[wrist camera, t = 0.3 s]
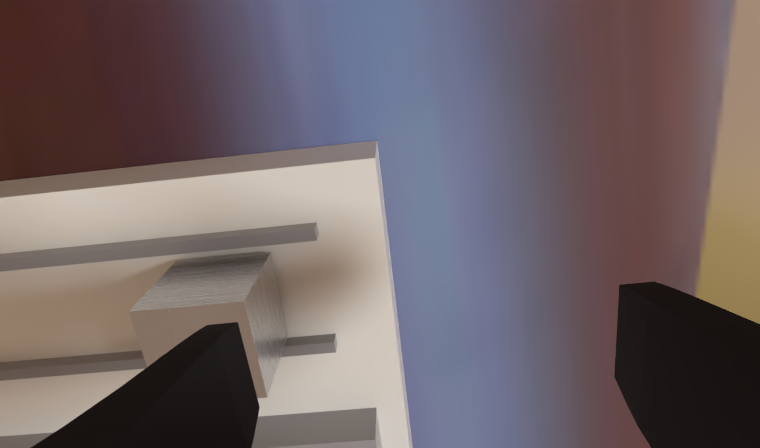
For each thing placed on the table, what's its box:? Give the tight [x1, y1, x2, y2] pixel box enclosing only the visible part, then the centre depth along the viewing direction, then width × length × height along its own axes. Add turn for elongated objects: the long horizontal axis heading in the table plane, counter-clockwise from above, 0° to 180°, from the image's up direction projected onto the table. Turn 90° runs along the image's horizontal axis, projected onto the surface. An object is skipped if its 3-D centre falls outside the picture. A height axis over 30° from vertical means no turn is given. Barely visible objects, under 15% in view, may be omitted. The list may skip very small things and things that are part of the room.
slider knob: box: [129, 252, 288, 398], centre depth 14 cm, size 3×3×3 cm
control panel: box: [0, 140, 413, 448], centre depth 18 cm, size 16×18×4 cm
